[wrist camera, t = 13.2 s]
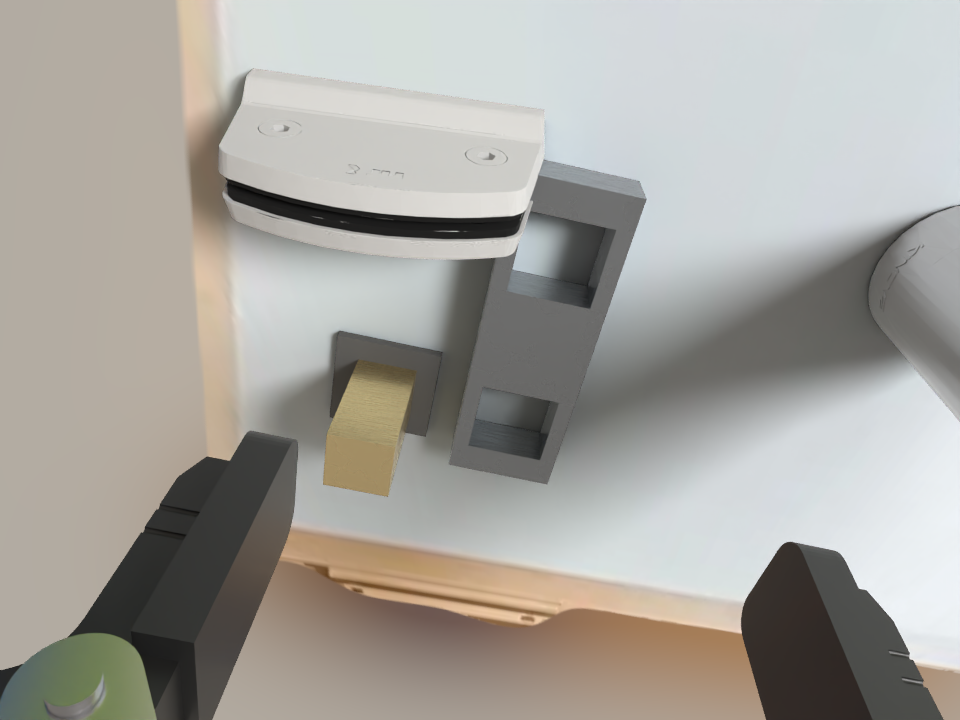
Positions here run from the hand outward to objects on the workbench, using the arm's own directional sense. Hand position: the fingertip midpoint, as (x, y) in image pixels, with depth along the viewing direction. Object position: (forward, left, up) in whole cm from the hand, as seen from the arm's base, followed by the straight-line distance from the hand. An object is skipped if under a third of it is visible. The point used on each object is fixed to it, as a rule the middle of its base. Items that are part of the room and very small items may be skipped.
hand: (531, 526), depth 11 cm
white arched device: (+7, +4, -30) cm, 32 cm away
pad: (+6, +20, -30) cm, 37 cm away
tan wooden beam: (+6, +20, -30) cm, 36 cm away
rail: (-3, +13, -30) cm, 33 cm away
